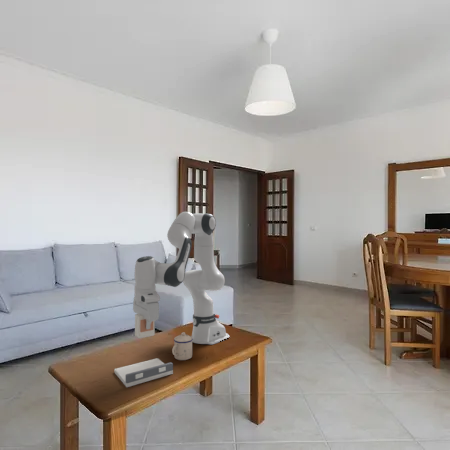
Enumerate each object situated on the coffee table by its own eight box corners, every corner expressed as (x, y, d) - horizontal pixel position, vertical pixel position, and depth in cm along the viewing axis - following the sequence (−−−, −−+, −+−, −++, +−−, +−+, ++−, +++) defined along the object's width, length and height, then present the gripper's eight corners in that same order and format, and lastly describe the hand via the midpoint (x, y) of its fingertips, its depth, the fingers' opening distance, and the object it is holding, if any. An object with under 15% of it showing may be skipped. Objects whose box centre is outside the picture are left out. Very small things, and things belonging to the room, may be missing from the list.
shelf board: (157, 361, 149) (157, 351, 149) (173, 374, 135) (173, 363, 135) (114, 372, 137) (114, 362, 137) (126, 387, 124) (127, 376, 124)
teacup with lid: (182, 351, 160) (182, 328, 160) (196, 355, 155) (196, 331, 155) (165, 359, 150) (165, 335, 150) (180, 364, 145) (180, 339, 145)
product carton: (150, 332, 139) (150, 312, 139) (154, 335, 135) (154, 314, 136) (134, 335, 135) (135, 314, 135) (139, 338, 131) (139, 316, 131)
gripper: (129, 291, 142) (129, 322, 142) (147, 299, 126) (147, 334, 125) (143, 290, 146) (142, 320, 146) (161, 297, 129) (161, 331, 129)
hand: (144, 327), depth 135 cm, fingers closed on product carton, 5 cm apart
